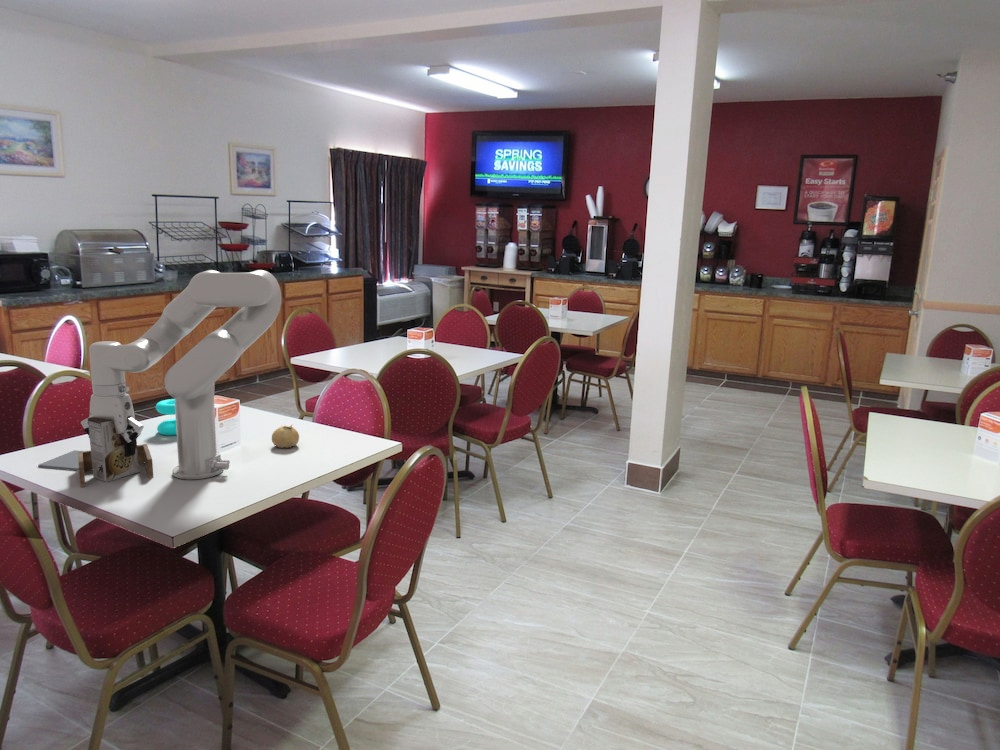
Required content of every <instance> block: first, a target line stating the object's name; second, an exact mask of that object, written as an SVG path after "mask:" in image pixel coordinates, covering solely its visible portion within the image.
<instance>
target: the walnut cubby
mask: <svg viewBox="0 0 1000 750" xmlns="http://www.w3.org/2000/svg"><path fill="white" fill-rule="evenodd" d="M81 451H82V452H78V460H79V471H78V473H79V474H78V475H79V486H80V488H83V487H82V486H85V487H86V480H85V479H86V477H85V476H86V475H85V471H90V470H89V469H91V470H93V467H92V457H91V450H81ZM137 451H138V462H139V464H144V466H145V469H146V472H147V476H148V478H149V479H151V478H154V468H153V467H154V466H153V457H152V455H151V452H150V448H149V446H148V444H147V443H146V444H145V443H144V444H137ZM144 462H145V463H144Z"/></svg>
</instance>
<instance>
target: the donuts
mask: <svg viewBox="0 0 1000 750" xmlns="http://www.w3.org/2000/svg"><path fill="white" fill-rule="evenodd" d="M155 410H156V411H157V412H158V413H159V414H162V415H165V416H166V415H169V416H173V415H174V416H176V414H175V398H170V399H165V400H164V399H163V400H160V401H158V402H157V403H156V405H155ZM156 431H157V432H158V433H159V434H160V435H164V436H177V432H176V418H173V419H167V420H164V421H162V422H160V423H159V424H157V427H156Z"/></svg>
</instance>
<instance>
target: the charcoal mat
mask: <svg viewBox="0 0 1000 750" xmlns="http://www.w3.org/2000/svg"><path fill="white" fill-rule="evenodd" d="M82 451H83V450H76V449H75V450H72V451H69V452H67V453H65V454H62V455H59V456H57V457H54V458H52V459H49V460H47V461H44V462H42V463H39V464H38V467H39V468H44V467H49V468H48V469H55V468H59V469H58V470H66V469H69V471H77V470H79V460H78V452H82Z"/></svg>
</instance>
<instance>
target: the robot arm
mask: <svg viewBox="0 0 1000 750" xmlns="http://www.w3.org/2000/svg"><path fill="white" fill-rule="evenodd" d="M279 284H280V283H279V282H278V280H277V278H276V277H275V276H274V275H273V274H272V273H270V272H269V271H267V270H263V269H256V270H252V271H249V272H220V271H217V270H216V269H215V270H214V269H208V270H205V271H201V272H198V273H196V274H195V275H194V276H193V277H192V278H191V279H190V280H189V282H188V285H187V286H186V287H185V288H184V289H183V290H182V291H181V292H180V293H179V294H178V295H177V296H175V297H174V298H173V299H172V300H171V301H170V302H168V304H167V305H166V306H165V307H164V309H163V311H162V313H161V316H160V317H159V319H158V320H157V321H156V322H155V323H154V324H153V325H152V326H151V327H150V328H149V329H148V330H146V332H144V333H143V334H142V335H141V336H140V337H139V338H138V339H136V340H134V341H133V342H130V343H127V344H121V342H118V341H113V340H112V341H111V340H106V341H105V340H104V341H96V342H93V343H92V344H90V346H89V347H88V349H89V362H90V363H89V364H90V374H91V386H92V387H91V389H92V394H91V395H90V401H89V416H88V417H87V418H85V419H83V420H81V421H80V425H81V426H82V428H83V429H84V432H85V434H87V436H88V438H89V439H90V437H89V426H88V418H91V417H92V418H103V419H111V420H114V423H115V429H116V433H117V434H121V435H122V436H123V437H124V439H125V440H126V441H127V442H125V443H124V447H125V456H126V457H130V456H132V455H134V454H135V451H136V448H135V440H136V441H137V440H138V438H139V437H140V435H141V434H142V431H143V430H144V424H142V423H140V422H139V421H138V420H136V416H135V411H134V406H133V402H132V398H131V396H130V393H128V392H130V387H129V386H126V385H127V383H126V373H127V372H128V373H134V374H135V373H137V374H139V373H143V372H144V371H145V372H146V371H147V370H148V369H150V368H151V367H152V366H154V365H155V364H157V363H158V362H160V360H161V359H162V358H163V357H164V356H166V355H167V353H169V352H170V351H171V350H172V349H173V348H174V347H175V346H176V345H178V343H179V342H180V341H181V340H183V338H184V337H186V336H188V335H189V334H190V333H191V332H192V331H193V330H194V329H195V328H197V326H198V325H200V324H201V322H203V320H204V319H205V318H207V317H208V316H209V315H210V314H211V313H212V312H213V311H214V310H216V308H234V307H235V308H236V307H237V308H239V307H240V308H239V310H237V312H236V313H234V314H233V315H232V316H231V317H230V318H229V319H228V320H227V321H226V322H225V323H223V325H221V326H220V327H219V328H217V329H216V330H214V331H212V332H210V333H209V334H207V335H206V336H204V338H203V339H201V340H200V341H199V342H198V343H196V345H194V346H193V347H192V348H190V350H189V351H188V352H187V353H185V354H184V355H183V356H182V357H181V358H180V359H179V360H177V362H175V363H174V364H173V365H172V366H171V367H169V368H168V370H167V371H166V373H165V375H164V380H163V381H164V388H165V390H166V392H167V393H168V394H169V395H170V397H172V398H173V399H175V414H176V415H175V419H176V432H177V435H176V444H177V445H176V446H177V459H178V461H177V463H178V465H176V466H175V467H173V469H172V476H173V477H175V478H176V479H181V480H202V479H208V478H211V477H216V476H217V475H219V474H221V473H222V472H224V470H225V471H229V468H230V463H231V462H230V459H229V460H228V459H222V458H221V456H222V455H221V454H220V453H217V435H216V416H215V415H216V414H215V412H216V410H215V386H216V385H215V384H216V381H217V380H218V379H220V378H221V377H222V375H224V374H225V373H226V372H228V370H229V369H231V368H232V366H233V365H235V364H236V362H237V361H238V360H239V359H240V357H241V356H242V355H243V354H244V352H246V350H248V348H250V347H251V346H252V345H253V344H254V343H255V342H257V340H258V339H259V338H260V337H262V335H264V333H266V332H267V330H268V329H269V328H271V326H273V324H274V322H275V321H276V319H277V317H278V316H279V314H280V311H281V306H282V291H281V287H280V285H279ZM128 424H130V425H131V426H133V428H130V426H128V429H127V430H126V428H127V425H128ZM132 429H133V430H134V429H135V431H134V432H133V431H132ZM127 433H128V434H129V435H130V436H129V435H128V434H127Z"/></svg>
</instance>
